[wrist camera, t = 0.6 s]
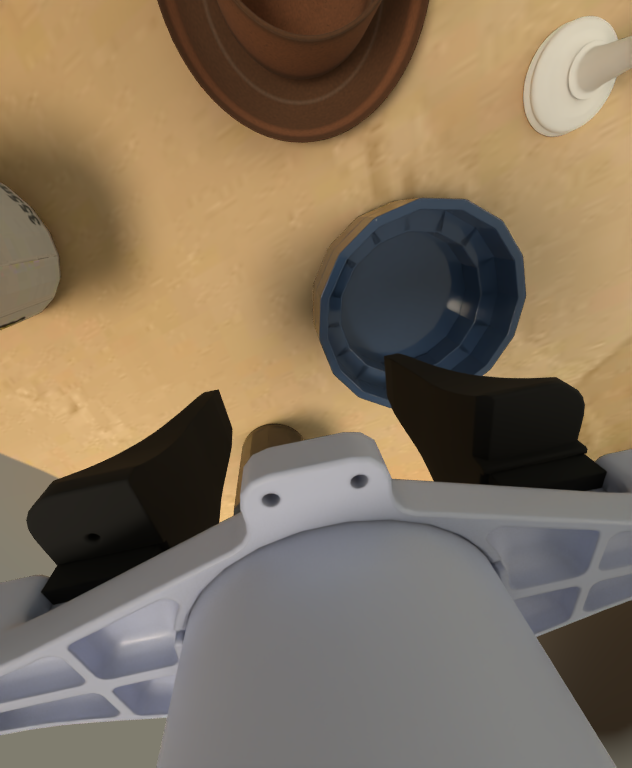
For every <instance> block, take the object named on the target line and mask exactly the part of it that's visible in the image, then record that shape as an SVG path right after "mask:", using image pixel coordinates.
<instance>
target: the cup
mask: <svg viewBox="0 0 632 768" xmlns="http://www.w3.org/2000/svg"><path fill="white" fill-rule="evenodd" d="M303 440H304V439H303V438H302V436H301V435H300V434H299V433H298V432H297V431H296V430H294V429H293V428H291V427H289V426H286V425H281V424H269V425H264V426H261V427H259V428H257V429H255V430H254V431H253V432H251V433H250V434H249V435H248V437H247V438H246V440H245V442H244V444H243V447H242V454H241V461H240V469H239V476H238V483H237V491H236V498H235V505H234V515H236V514H238V513H240V512H241V510H240V491H241V483H242V475H243V467H244V466H245V464H246V463H247V462H248V460H249V459H250V458H251V456H252V455H253V454H256V453H258V452H260V451H262V450H265V449H267V448H269V447H274V446H279V445H284V444H289V443H294V442H299V441H303Z"/></svg>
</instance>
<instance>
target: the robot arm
mask: <svg viewBox="0 0 632 768" xmlns="http://www.w3.org/2000/svg"><path fill="white" fill-rule="evenodd" d="M384 364H385V376H386V389H387V398H388V400H389V402H390V405H391V407H392V409H393V411H394V414H395V415H396V417H397V418H398V420H399V421H400V423H401V425H402V426H403V428H404V429H405V431H406V432H407V434H408V435H409V437H410V438H411V440H412V441H413V443H414V444H415V446H416V447H417V449H418V451H419V452H420V454H421V456H422V458H423V460H424V462H425V464H426V466H427V468H428V470H429V472H430V474H431V476H432V478H433V480H434V482H433V481H418V480H402V479H391V476H390V474H389V471H388V469H387V467H386V465H385V462H384V460H383V458H382V456H381V453H380V451H379V449H378V447H377V445H376V443H375V441H374V439H372V438H370V437H368V436H366V435H364V434H363V433H361V432H342V433H337V434H332V435H328V436H323V437H318V438H313V439H308V440H303V441H299V442H294V443H289V444H284V445H279V446H274V447H269V448H267V449H265V450H262V451H260V452H258V453H256V454H253V455H252V456H251V458H250V459H249V460H248V462H247V463H246V464H245V466H244V467H243V475H242V483H241V491H240V510H241V512H240V513H238V514H236V515H234V516H232V517H230V518H228V519H226V520H224V521H222V522H220V523H219V519H220V507H221V497H222V491H223V486H224V481H225V477H226V472H227V467H228V463H229V458H230V453H231V448H232V426H231V423H230V420H229V417H228V415H227V412H226V409H225V406H224V403H223V400H222V398H221V395H220V392H219V390H214V391H209V392H204V393H203V394H201V395H200V396H199V397H197V398H196V399H195V400H194V401H193V402H191V403H190V404H189V405H188V406H187V407H186V408H185V409H183V410H182V411H181V412H180V413H179V414H178V415H176V416H175V417H174V418H173V419H171V420H170V421H169V422H168V423H166V424H165V425H164V426H163V427H161V428H160V429H159V430H157V431H156V432H154V433H153V434H152V435H150V436H148V437H147V438H145V439H144V440H142V441H141V442H139V443H137V444H136V445H134V446H132V447H130V448H128V449H127V450H125V451H123V452H121V453H119V454H117V455H115V456H113V457H111V458H109V459H107V460H105V461H103V462H101V463H98V464H96V465H94V466H91V467H89V468H87V469H84V470H81V471H79V472H76V473H73V474H71V475H68V476H65V477H63V478H60V479H57V480H55V481H53V482H52V483H51V484H50V485H49V487H48V488H47V489H46V490H45V492H44V493H43V494H42V495H41V496H40V498H39V499H38V500H37V501H36V502H35V504H34V505H33V506H32V508H31V509H30V510H29V512H28V516H27V520H26V521H27V525H28V529H29V531H30V533H31V534H32V536H33V538H34V539H35V540H36V541H37V543H38V544H39V545H40V546H41V547H42V548H43V550H44V551H45V552H46V553H47V554H48V555H49V556H50V557H51V559H52V560H53V561H54V562H55V563H56V565H57V567H56V568H55V570H54V572H53V573H52V575H51V577H48V576H44V575H33V576H29V577H24V578H19V579H15V580H10V581H6V582H1V583H0V735H4V734H9V733H15V732H20V731H25V730H31V729H38V728H45V727H52V726H59V725H70V724H81V723H92V722H106V721H121V720H136V719H152V718H167V720H166V725H165V729H164V734H163V739H162V743H161V748H160V753H159V757H158V762H157V767H156V768H617V767H616V765H615V764H614V762H613V761H612V759H611V757H610V756H609V754H608V753H607V751H606V749H605V748H604V746H603V744H602V743H601V741H600V740H599V738H598V736H597V735H596V733H595V731H594V730H593V728H592V727H591V725H590V723H589V722H588V720H587V719H586V717H585V715H584V714H583V712H582V710H581V709H580V707H579V706H578V704H577V702H576V701H575V699H574V698H573V696H572V694H571V693H570V691H569V689H568V688H567V686H566V685H565V683H564V681H563V680H562V678H561V677H560V675H559V673H558V672H557V670H556V669H555V667H554V665H553V664H552V662H551V660H550V659H549V657H548V656H547V654H546V652H545V651H544V649H543V648H542V646H541V645H540V643H539V641H538V640H537V638H536V637H537V636H539V635H542V634H545V633H547V632H550V631H552V630H555V629H557V628H560V627H562V626H565V625H567V624H570V623H572V622H575V621H578V620H580V619H583V618H585V617H588V616H590V615H592V614H595V613H598V612H600V611H603V610H605V609H608V608H611V607H613V606H616V605H619V604H621V603H624V602H627V601H630V600H632V449H629V450H624V451H619V452H615V453H610V454H606V455H603V456H601V457H599V458H598V459H597V460H596V461H595V462H594V461H593V460H591V459H590V458H589V457H588V456H586V455H585V453H587V448H586V446H585V445H583V444H582V443H581V442H579V441H578V436H579V432H580V428H581V424H582V420H583V416H584V408H585V404H584V400H583V396H582V395H581V394H580V392H579V391H578V390H577V389H575V388H573V387H572V386H570V385H568V384H567V383H565V382H563V381H562V380H560V379H558V378H557V377H550V378H496V377H487V376H478V375H471V374H466V373H461V372H456V371H452V370H448V369H445V368H441V367H438V366H435V365H431V364H428V363H426V362H423V361H420V360H417V359H415V358H412V357H409V356H406V355H403V354H399V353H397V354H392V355H387V356H384Z"/></svg>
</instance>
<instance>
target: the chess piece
mask: <svg viewBox="0 0 632 768" xmlns="http://www.w3.org/2000/svg"><path fill="white" fill-rule="evenodd" d="M631 68H632V36H629V37H626V38H623V39H620V40H618V38H617V35H616V33H615V31H614V29H613V28H612V26H611V25H610V24H609V23H608V22H607V21H605V20H604V19H602V18H600V17H596V16H585V17H581V18H578V19H575V20H573V21H571V22H568V23H566V24H564V25H562V26H560V27H559V28H557V29H556V30H555V31H554V32H552V33H551V34H550V35H549V36H548V37H547V38H546V39H545V41H544V42H543V43H542V44H541V46H540V47H539V49H538V50H537V52H536V54H535V55H534V57H533V59H532V61H531V64H530V66H529V69H528V72H527V75H526V79H525V84H524V92H523V102H524V110H525V113H526V116H527V119H528V121H529V123H530V124H531V126H532V127H533V128H534V129H535V130H536V131H537V132H539V133H540V134H542V135H545V136H551V137H555V136H561V135H565V134H567V133H569V132H571V131H573V130H575V129H577V128H579V127H581V126H583V125H584V124H586V123H587V122H588V121H589V120H590V119H592V118H593V117H594V116H595V115H596V113H597V112H598V111H599V110H600V109H601V107H602V106H603V105H604V103H605V102H606V100H607V98H608V96H609V95H610V93H611V90H612V88H613V86H614V83H615V80H616V77H617V76H619V75H620V74H622V73H624V72H626V71H627V70H629V69H631Z"/></svg>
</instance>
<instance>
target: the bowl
mask: <svg viewBox="0 0 632 768" xmlns="http://www.w3.org/2000/svg"><path fill="white" fill-rule="evenodd" d="M313 284H314V285H313V314H312V320H313V324H314V327H315V329H316V332H317V335H318V338H319V341H320V343H321V345H322V348H323V350H324V353H325V355H326V358H327V360H328V362H329V365H330V367H331V370H332V372H333V374H334V375H335V376H336V377H337V378H338V379H339V380H340V381H341V382H342V383H344V384H345V385H346V386H347V387H348V388H349V389H350V390H351V391H352V392H353V393H354V394H355V395H357V396H358V397H359V398H362V399H365V400H368V401H371V402H374V403H377V404H380V405H383V406H386V407H389V408H392V407H391V405H390V402H389V400H388V398H387V389H386V376H385V364H384V356H387V355H392V354H397V353H399V354H403V355H406V356H409V357H412V358H415V359H417V360H420V361H423V362H426V363H428V364H431V365H435V366H438V367H441V368H445V369H448V370H452V371H456V372H461V373H466V374H471V375H478V376H483V375H484V374H485V373H487V372H488V371H489V370H490V369H491V368H492V367H493V365H494V364H495V363H496V361H497V360H498V358H499V357H500V355H501V354H502V353H503V351H504V350H505V348H506V347H507V345H508V344H509V343H510V341H511V340H512V338H513V337H514V335H515V331H516V328H517V325H518V322H519V318H520V315H521V312H522V308H523V305H524V302H525V299H526V288H525V275H524V261H523V255H522V253H521V251H520V250H519V248H518V246H517V244H516V243H515V241H514V239H513V238H512V236H511V234H510V232H509V231H508V229H507V227H506V225H505V224H504V222H503V221H502V220H501V219H499V218H498V217H496V216H494V215H493V214H491V213H489V212H487V211H486V210H484V209H482V208H481V207H479V206H477V205H476V204H474V203H472V202H471V201H469V200H466V199H449V198H414V199H406V200H397V201H393V202H391V203H388V204H386V205H384V206H382V207H379V208H377V209H375V210H372V211H370V212H368V213H366V214H363V215H361V216H359V217H358V218H356V219H355V220H354V221H353V222H352V223H351V224H350V225H349V226H348V227H347V228H346V229H345V231H344V232H343V233H342V234H341V235H340V236H339V237H338V238H337V239H336V240H335V241H334V242H333V243H332V244H331V245H330V246H329V248H328V249H327V252H326V254H325V257H324V259H323V261H322V264H321V266H320V269H319V271H318V273H317V276H316V278H315V281H314V283H313Z"/></svg>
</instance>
